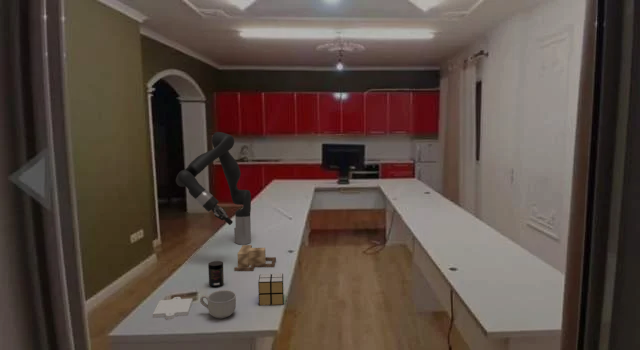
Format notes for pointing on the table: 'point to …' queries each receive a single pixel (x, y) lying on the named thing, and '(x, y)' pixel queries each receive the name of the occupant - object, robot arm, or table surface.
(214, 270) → the supplement container
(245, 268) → the T outline
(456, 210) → the table surface
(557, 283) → the table surface
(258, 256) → the T block
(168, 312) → the mounting plate
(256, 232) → the table surface
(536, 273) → the table surface
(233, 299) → the teacup
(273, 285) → the puzzle cube
